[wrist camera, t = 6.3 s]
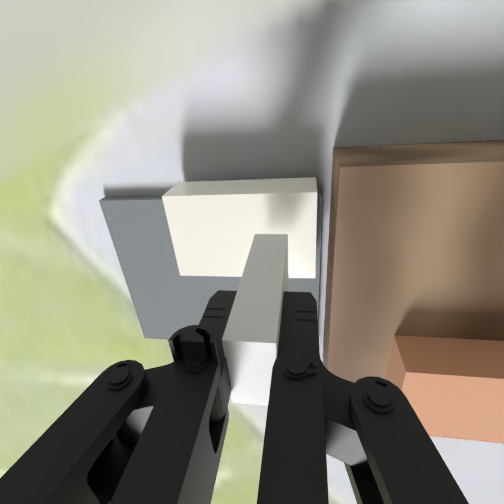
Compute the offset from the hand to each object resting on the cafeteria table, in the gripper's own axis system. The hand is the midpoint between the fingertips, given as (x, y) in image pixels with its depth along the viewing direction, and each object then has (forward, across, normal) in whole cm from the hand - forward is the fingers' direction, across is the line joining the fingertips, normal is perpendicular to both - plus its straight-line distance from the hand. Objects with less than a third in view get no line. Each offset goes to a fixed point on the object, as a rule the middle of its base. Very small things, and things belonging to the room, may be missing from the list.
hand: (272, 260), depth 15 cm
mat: (+5, +4, +5) cm, 8 cm away
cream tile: (+5, +2, 0) cm, 5 cm away
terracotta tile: (+1, -10, +8) cm, 13 cm away
